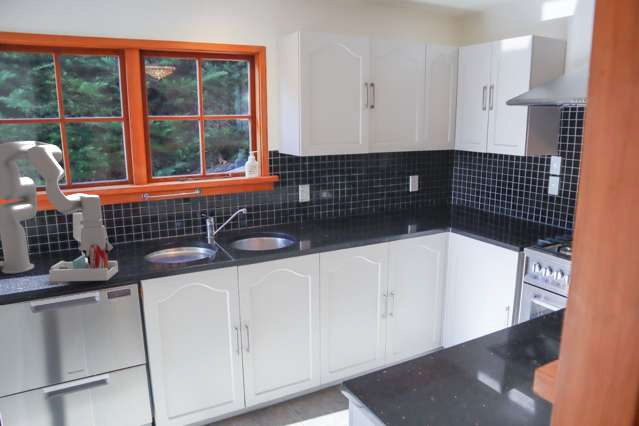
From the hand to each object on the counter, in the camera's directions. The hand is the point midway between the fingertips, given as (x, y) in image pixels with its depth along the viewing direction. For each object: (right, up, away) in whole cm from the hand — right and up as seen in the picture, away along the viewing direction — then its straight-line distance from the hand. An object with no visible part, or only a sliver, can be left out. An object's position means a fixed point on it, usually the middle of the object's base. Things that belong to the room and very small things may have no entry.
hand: (97, 263), depth 204 cm
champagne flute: (-18, -2, +23) cm, 29 cm away
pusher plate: (-8, -4, +1) cm, 9 cm away
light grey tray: (-6, -6, +1) cm, 8 cm away
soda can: (+1, -3, +1) cm, 4 cm away
